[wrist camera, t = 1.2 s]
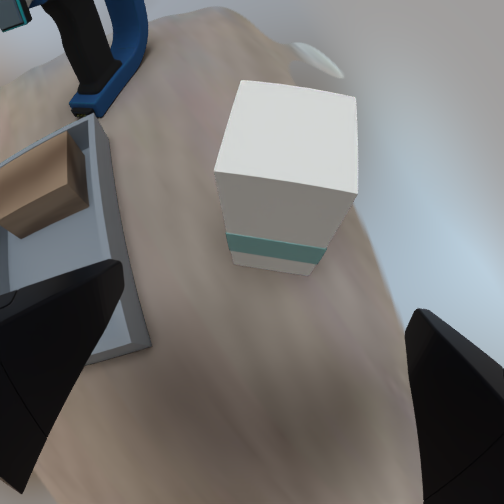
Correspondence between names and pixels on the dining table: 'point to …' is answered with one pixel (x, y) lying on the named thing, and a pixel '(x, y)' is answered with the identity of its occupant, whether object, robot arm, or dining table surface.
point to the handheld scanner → (91, 44)
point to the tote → (81, 243)
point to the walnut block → (43, 186)
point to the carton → (286, 174)
